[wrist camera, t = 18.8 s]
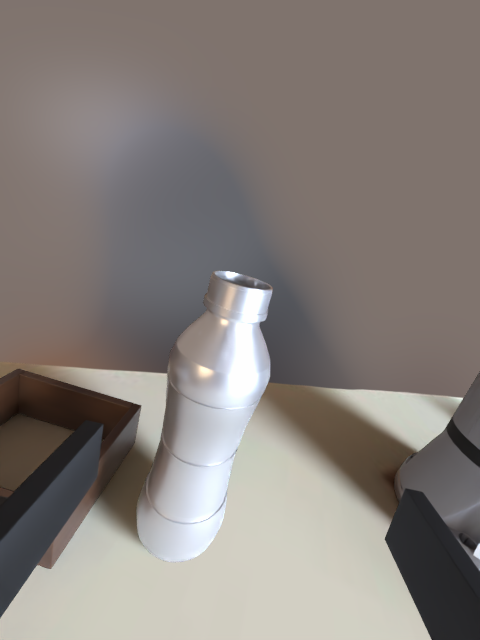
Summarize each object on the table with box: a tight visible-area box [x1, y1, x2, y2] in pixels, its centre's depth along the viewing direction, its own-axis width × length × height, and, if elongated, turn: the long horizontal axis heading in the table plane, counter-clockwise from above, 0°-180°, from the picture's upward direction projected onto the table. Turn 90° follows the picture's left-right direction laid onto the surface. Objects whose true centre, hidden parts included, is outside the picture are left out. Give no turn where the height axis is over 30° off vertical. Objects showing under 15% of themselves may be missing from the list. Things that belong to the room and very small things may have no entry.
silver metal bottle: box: [136, 271, 273, 562], centre depth 19 cm, size 6×7×20 cm
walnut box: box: [0, 369, 141, 569], centre depth 23 cm, size 13×12×4 cm
